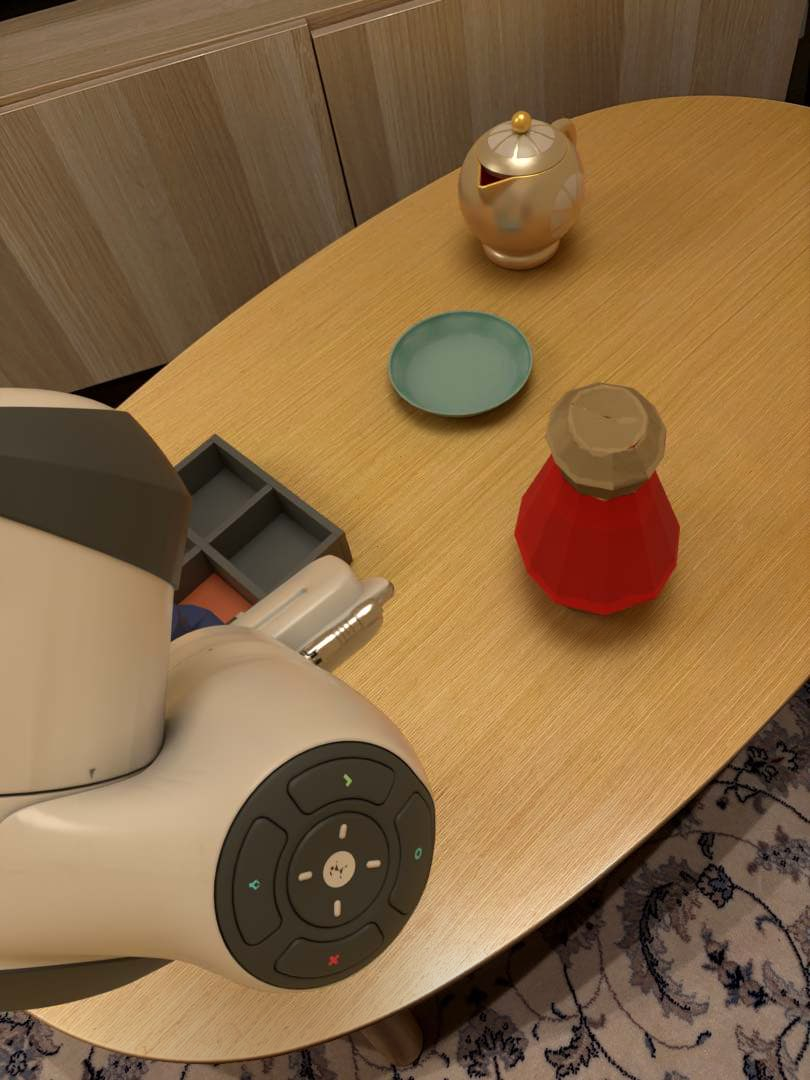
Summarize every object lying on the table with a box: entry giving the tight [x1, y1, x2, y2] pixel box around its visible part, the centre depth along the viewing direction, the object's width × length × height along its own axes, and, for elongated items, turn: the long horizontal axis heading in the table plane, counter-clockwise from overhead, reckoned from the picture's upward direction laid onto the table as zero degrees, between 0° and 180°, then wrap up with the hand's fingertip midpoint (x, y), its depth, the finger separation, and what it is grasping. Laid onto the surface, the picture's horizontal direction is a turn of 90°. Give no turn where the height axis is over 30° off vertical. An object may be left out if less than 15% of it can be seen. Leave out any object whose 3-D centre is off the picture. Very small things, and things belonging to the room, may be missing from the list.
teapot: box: [457, 110, 586, 271], centre depth 94 cm, size 18×14×16 cm
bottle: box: [513, 381, 681, 616], centre depth 68 cm, size 16×14×20 cm
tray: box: [173, 433, 354, 624], centre depth 78 cm, size 18×18×5 cm
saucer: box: [387, 309, 534, 418], centre depth 89 cm, size 15×15×3 cm
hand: (184, 670), depth 51 cm, fingers closed on navy bottle, 6 cm apart
